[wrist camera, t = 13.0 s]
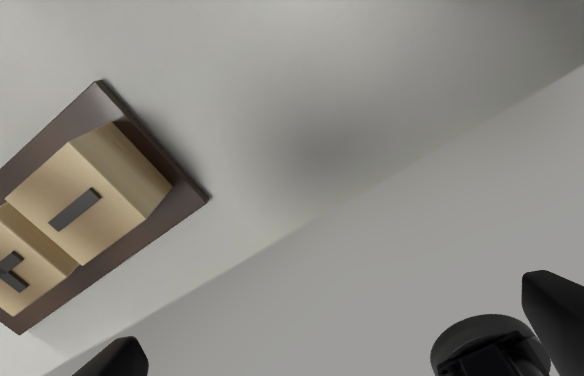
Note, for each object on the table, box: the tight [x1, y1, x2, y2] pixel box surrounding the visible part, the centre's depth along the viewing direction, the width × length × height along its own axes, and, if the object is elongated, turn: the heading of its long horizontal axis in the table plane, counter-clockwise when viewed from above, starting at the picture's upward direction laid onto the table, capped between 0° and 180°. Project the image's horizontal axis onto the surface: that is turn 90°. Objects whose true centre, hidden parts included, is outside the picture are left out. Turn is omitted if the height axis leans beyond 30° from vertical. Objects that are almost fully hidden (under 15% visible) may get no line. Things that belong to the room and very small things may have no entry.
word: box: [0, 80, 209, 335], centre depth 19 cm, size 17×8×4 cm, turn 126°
